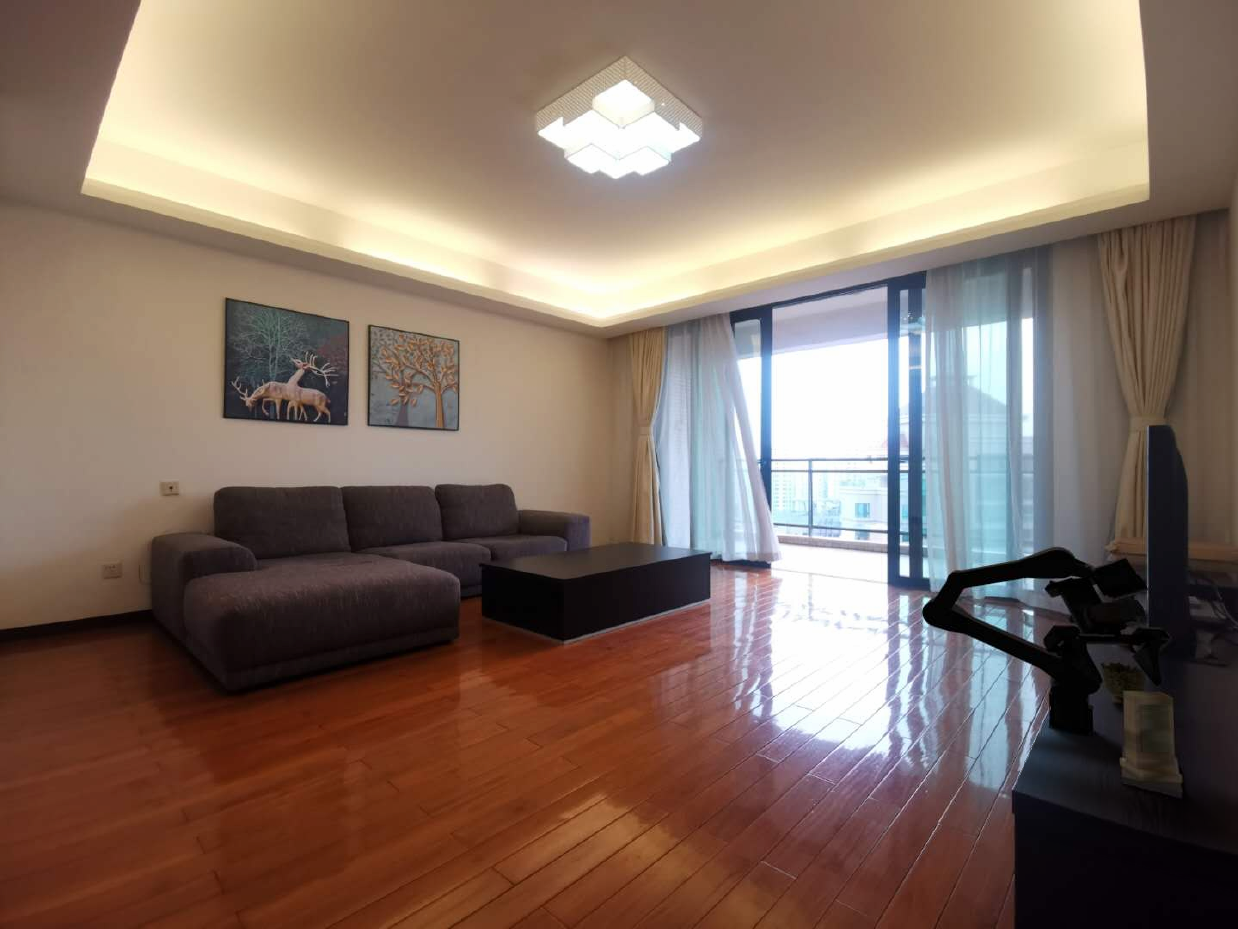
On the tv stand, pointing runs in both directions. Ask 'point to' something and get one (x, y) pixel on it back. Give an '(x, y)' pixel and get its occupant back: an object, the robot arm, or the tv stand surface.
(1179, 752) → the tv stand surface
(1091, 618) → the robot arm
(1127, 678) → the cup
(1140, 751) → the tapered block
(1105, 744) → the tv stand surface
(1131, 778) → the slate tile
